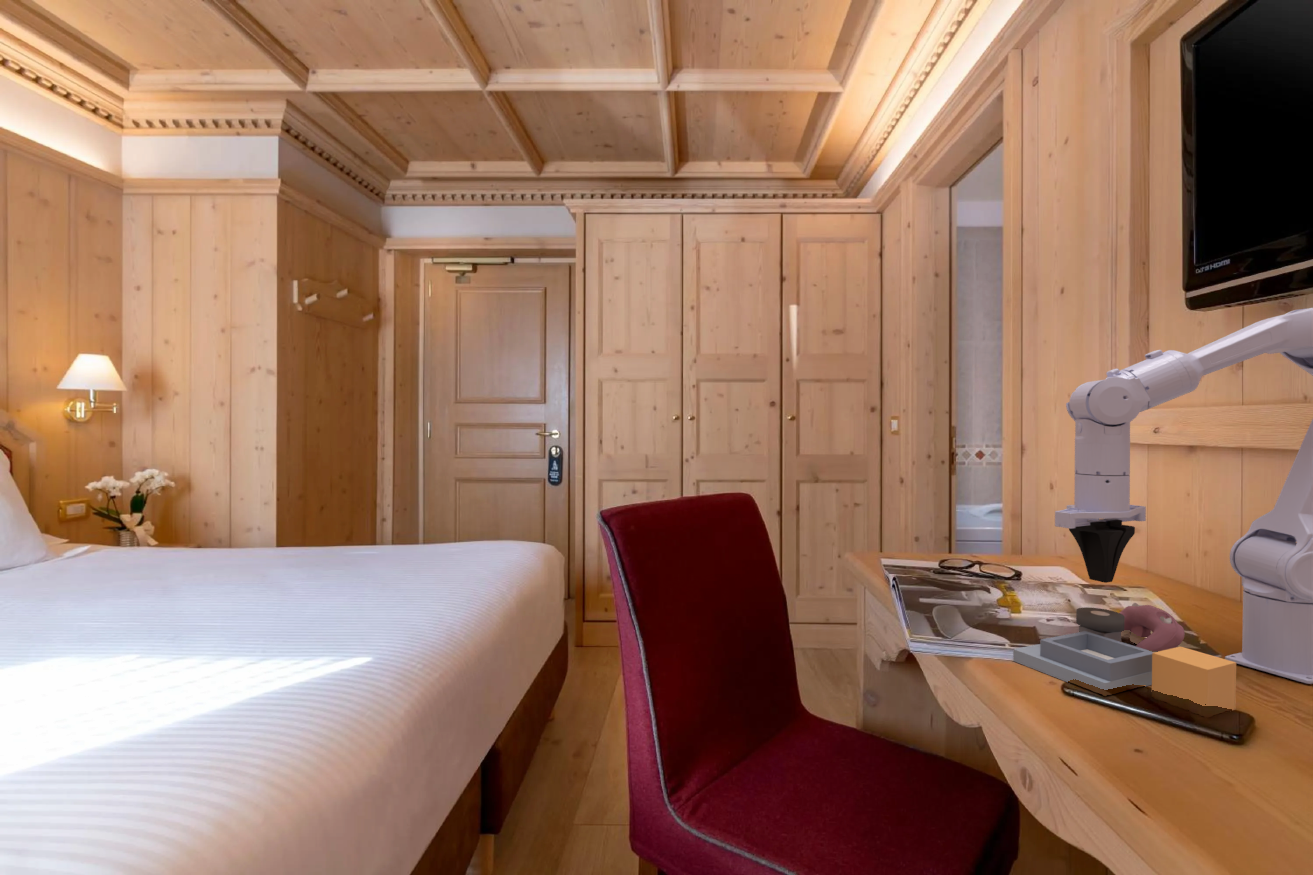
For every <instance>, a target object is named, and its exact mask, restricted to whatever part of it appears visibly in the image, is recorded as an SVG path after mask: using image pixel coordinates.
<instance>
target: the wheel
mask: <svg viewBox="0 0 1313 875" xmlns="http://www.w3.org/2000/svg"><path fill="white" fill-rule="evenodd" d="M1075 615H1076V620H1075V622H1076V624H1077V625H1078V626H1082V627H1085V628H1088V629H1092V630H1097V631H1102V632H1122V631H1124V621H1125V617H1124V615H1122V614H1120V612H1117V611H1113V610H1110V609H1105V608H1100V607H1089V606H1088V607H1085V606H1084V607H1079V608H1076V614H1075Z"/></svg>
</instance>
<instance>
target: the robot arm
mask: <svg viewBox="0 0 1313 875" xmlns="http://www.w3.org/2000/svg"><path fill="white" fill-rule="evenodd" d="M1263 354H1268V355H1269V354H1270V355H1272V354H1273V355H1274V354H1280V355H1282V356H1283V357H1284V358H1286V359H1287V360H1289V361H1290V362H1292V363H1293V364H1294V365H1296V366H1297V367H1299V368H1301V369H1302V370H1303V371H1305V372H1306V373H1307V374H1309V375H1311V376H1313V307H1309V308H1302V309H1301V308H1300V309H1294V310H1291V311H1288V312H1287V313H1284V314H1281V315H1276V316H1272V317H1268V318H1264V319H1262V320H1258V321H1256V322H1254V323H1252V324H1249V325H1247V326H1245V327H1243V328H1241V329H1238V330H1236V331H1234V332H1232V333H1229V334H1228V335H1225V336H1223V337H1221V338H1219V339H1218V338H1217V340H1214V341H1213V342H1210V343H1207V344H1205V345H1202V346H1201V347H1199V348H1197V349H1195V350H1191V351H1190V352H1188V353H1186V352H1182V351H1179V350H1174V349H1168V350H1166V351H1163V350H1162V349H1157V350H1153V351H1150V352H1147V353H1146V354H1144V357H1145V360H1142V361H1139V362H1137V363H1134V364H1132V365H1129V366H1127V367H1125V368H1122V369H1119V368H1113V369H1110V370H1108V371H1106V374H1105V375H1106V377H1105V379H1099V380H1092V381H1087V382H1084V383H1082V384H1080V385H1079V386H1077V387H1076V388H1075V389H1074V391H1073V392H1072V393H1071V394H1070V398H1069V401H1068V402H1066V403H1065V407H1066V412H1067V413H1068V415H1069V417H1070V418H1071V419H1072V420H1073V421H1074V423H1075V424H1074V425H1075V428H1074V429H1075V430H1074V432H1075V433H1074V434H1075V435H1074V497H1073V498H1074V504H1067V505H1066V508H1065V509H1061V510H1055V511H1054V526H1055V527H1057V528H1065V529H1068V531H1069V532H1070V534H1071V535H1072V536H1073V538H1074V540H1075V541H1076V544H1077V545H1078V547H1079V549H1080V551H1081V556H1082V557H1083V558H1082V559H1083V561H1084V565H1085V567H1086V568H1085V569H1086V572H1087V576H1088V578H1089V580H1091V581H1096V582H1100V583H1105V584H1107V583H1112V582H1113V580H1114V579H1115V575H1116V571H1117V568H1118V566H1119V562H1120V560H1121V557H1122V554H1123V552H1124V550H1125V548H1126V546H1127V545H1128V543H1129V542H1130V540H1131V539H1132V538H1133V537H1134V535H1135V533H1136V527H1135V526H1133V525H1128V524H1123V523H1125V522H1126V523H1127V522H1146V520H1147V519H1146V517H1147V516H1146V514H1147V508H1146V506H1145V505H1136V504H1131V503H1130V501H1131V499H1130V498H1131V493H1130V490H1131V487H1130V486H1131V485H1130V484H1131V483H1130V482H1131V422H1132V421H1133V420H1135V419H1136V418H1137V416H1139V414H1140V413H1142V412H1145V411H1147V410H1150V409H1152V408H1155V407H1157V406H1159V405H1162V404H1164V403H1167V402H1169V401H1172V400H1174V399H1177V398H1179V397H1182V396H1184V395H1187V394H1189V393H1192V392H1194V391H1196V389H1197V388H1198V386H1200V382H1201V379H1202V377H1204V376H1206V375H1208V374H1211V373H1214V372H1217V371H1219V370H1223V369H1225V368H1228V367H1231V366H1233V365H1236V364H1239V363H1241V362H1244V361H1247V360H1250V359H1252V358H1255V357H1258V356H1260V355H1263ZM1250 524H1251V525H1250V526H1249V529H1248V530H1247V531H1246V533H1245V534H1244V535H1243V536H1241V537H1240V538H1239V539H1237V541H1235V542H1234V544H1233V545H1232V547H1231V548H1230V552H1229V563H1230V565H1231V567H1232V569H1233V570H1234V572H1235V574H1237V575H1238V576H1239V577H1240V578H1241V586H1242V587H1243V590H1242V634H1241V635H1242V640H1241V641H1242V646H1241V648H1242V650H1241V652H1238V653H1233V654H1229V655H1226V656H1224V659H1226V660H1229V661H1233V662H1236V665H1237V664H1238V665H1241V666H1244V667H1248V668H1252V669H1254V670H1255V669H1256V670H1258V671H1262V672H1266V673H1269V674H1272V675H1275V676H1279V677H1283V678H1287V679H1290V680H1293V681H1296V682H1301V683H1303V684H1308V685H1309V684H1310V685H1312V684H1313V418H1312V419H1311V421H1310V424H1309V425H1308V428H1307V431H1306V433H1305V434H1304V438H1303V440H1302V442H1301V445H1300V447H1299V449H1298V452H1297V454H1296V456H1295V459H1294V461H1293V463H1292V465H1291V468H1290V470H1289V472H1288V474H1287V477H1286V479H1285V481H1284V484H1283V485H1282V487H1281V490H1280V493H1279V496H1278V498H1277V500H1276V502H1275V505H1274V507H1273V509H1271V510H1269V512H1267V513H1265V514H1263V515H1261V516H1259V517H1257V518H1256V519H1254V520H1253V521H1252V522H1251V523H1250Z"/></svg>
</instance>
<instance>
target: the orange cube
mask: <svg viewBox="0 0 1313 875" xmlns="http://www.w3.org/2000/svg"><path fill="white" fill-rule="evenodd" d="M1152 690H1154V691H1158V692H1161V693H1163V694H1167V695H1173V696H1177V697H1179V698H1183V699H1189V700H1191V701H1193V702H1194V703H1197V704H1200V705H1202V706H1218V707H1222V708H1227V709H1232V711H1235V710H1236V705H1237V704H1236V703H1237V702H1236V698H1237V663H1236V662H1233V661H1229V660H1226V659H1225V658H1222V657H1219V656H1216V655H1211V654H1208V653H1204V652H1202V651H1199V650H1198V651H1197V650H1194V649H1191V648H1188V647H1183V646H1178V647H1176V648H1172V649H1167V650H1163V651H1158V652H1154V653H1152V685H1151V691H1152ZM1205 704H1206V705H1205Z"/></svg>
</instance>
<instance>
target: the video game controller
mask: <svg viewBox="0 0 1313 875" xmlns="http://www.w3.org/2000/svg"><path fill="white" fill-rule="evenodd" d="M1119 613H1120V614H1122V615H1124V617H1125V621H1124V630H1130V631H1131V632H1133V633H1134V634H1136V635H1137V636H1140V637H1147V638H1145V639H1144V640H1142V641H1141V642H1139V643H1138V644H1137V645H1135V646H1136V647H1139V648H1142V649H1146V650H1152V651H1163V650H1167V649H1172V648H1176V647H1180V645H1181V644H1182V642H1183V641H1184V638H1185V629H1184V626H1182V625H1181V624H1179V623H1178V622H1177V620H1176V619H1175V617H1174V616H1172V614H1170V613H1169V612H1167V611H1166V610H1164V609H1161V608H1158V607H1156V606H1153V605H1150V604H1138V603H1137V602H1133V603H1132V605H1128V606H1126V607H1125V608H1123V609H1122V610H1121V611H1119ZM1151 632H1152V633H1151Z"/></svg>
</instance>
